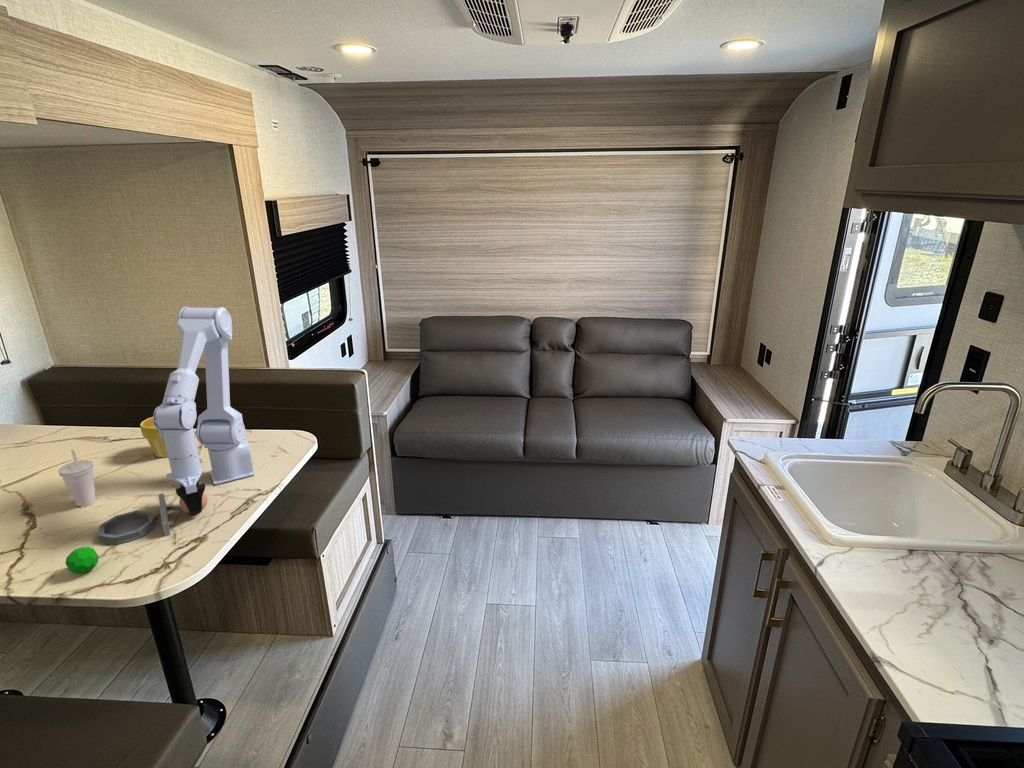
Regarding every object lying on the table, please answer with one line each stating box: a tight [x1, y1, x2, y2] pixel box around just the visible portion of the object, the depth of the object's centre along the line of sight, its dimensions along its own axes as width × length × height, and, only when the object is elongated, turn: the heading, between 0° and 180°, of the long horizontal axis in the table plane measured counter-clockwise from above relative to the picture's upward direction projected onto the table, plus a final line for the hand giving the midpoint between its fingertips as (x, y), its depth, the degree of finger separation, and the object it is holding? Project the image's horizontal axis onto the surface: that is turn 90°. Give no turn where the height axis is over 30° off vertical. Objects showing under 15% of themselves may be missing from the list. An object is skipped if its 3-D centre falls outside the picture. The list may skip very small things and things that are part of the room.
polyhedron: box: [64, 546, 100, 575], centre depth 103 cm, size 5×5×5 cm
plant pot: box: [139, 416, 168, 458], centre depth 148 cm, size 10×10×10 cm
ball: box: [178, 491, 209, 514], centre depth 122 cm, size 6×6×6 cm
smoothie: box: [57, 449, 97, 507], centre depth 123 cm, size 6×6×14 cm
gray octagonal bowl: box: [98, 509, 157, 546], centre depth 116 cm, size 10×10×2 cm
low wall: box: [158, 493, 171, 537], centre depth 119 cm, size 1×14×3 cm, turn 35°
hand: (194, 506), depth 123 cm, fingers closed on ball, 5 cm apart
